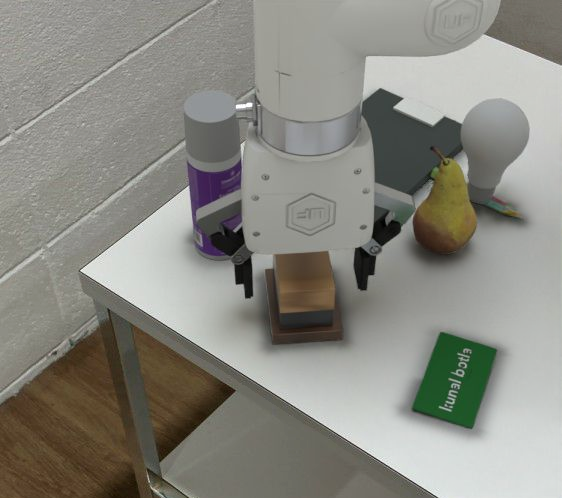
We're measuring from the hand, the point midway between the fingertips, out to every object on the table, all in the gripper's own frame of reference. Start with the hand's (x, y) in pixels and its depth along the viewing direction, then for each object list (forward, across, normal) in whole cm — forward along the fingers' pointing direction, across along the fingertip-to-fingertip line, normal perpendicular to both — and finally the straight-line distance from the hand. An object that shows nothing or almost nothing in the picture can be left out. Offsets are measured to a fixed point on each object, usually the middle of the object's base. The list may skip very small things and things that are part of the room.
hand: (304, 283), depth 80 cm
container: (+3, -7, +9) cm, 12 cm away
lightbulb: (+3, +18, +12) cm, 23 cm away
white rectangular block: (+2, +15, +26) cm, 30 cm away
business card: (+3, +14, -10) cm, 18 cm away
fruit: (+3, +14, +7) cm, 16 cm away
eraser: (+2, 0, 0) cm, 2 cm away
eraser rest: (+3, 0, 0) cm, 3 cm away
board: (+3, +9, +20) cm, 22 cm away
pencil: (+4, +16, +16) cm, 23 cm away
